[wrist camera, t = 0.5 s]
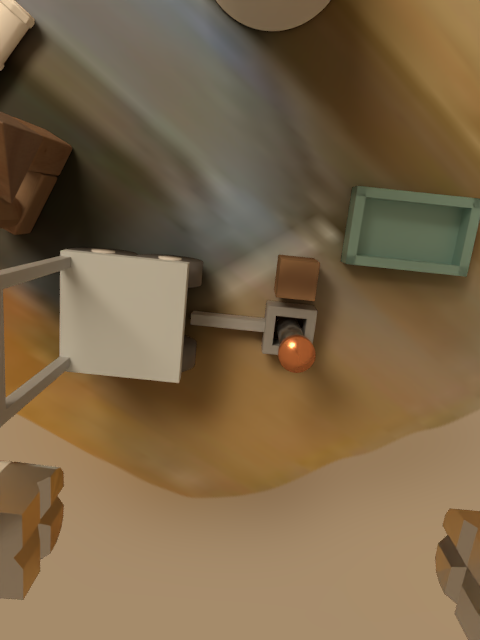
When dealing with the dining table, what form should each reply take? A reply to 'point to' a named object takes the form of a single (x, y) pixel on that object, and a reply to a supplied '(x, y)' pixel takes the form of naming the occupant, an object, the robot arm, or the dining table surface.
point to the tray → (410, 230)
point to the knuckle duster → (12, 27)
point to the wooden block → (27, 171)
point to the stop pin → (294, 346)
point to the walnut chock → (296, 277)
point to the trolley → (128, 318)
